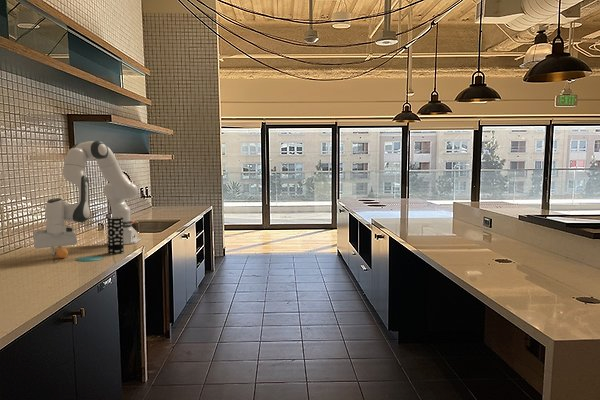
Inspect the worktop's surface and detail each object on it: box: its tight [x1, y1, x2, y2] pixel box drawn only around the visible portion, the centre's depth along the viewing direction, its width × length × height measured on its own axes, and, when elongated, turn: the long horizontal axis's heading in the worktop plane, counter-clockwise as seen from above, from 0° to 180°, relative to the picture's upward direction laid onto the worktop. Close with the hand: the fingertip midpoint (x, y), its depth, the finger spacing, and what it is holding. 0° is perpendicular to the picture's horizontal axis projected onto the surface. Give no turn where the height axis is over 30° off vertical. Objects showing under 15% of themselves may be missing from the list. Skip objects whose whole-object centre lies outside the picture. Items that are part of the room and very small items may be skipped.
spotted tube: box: [106, 216, 125, 255], centre depth 252 cm, size 8×8×20 cm
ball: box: [55, 247, 69, 259], centre depth 236 cm, size 6×6×6 cm
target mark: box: [75, 255, 104, 263], centre depth 236 cm, size 13×13×1 cm
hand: (56, 254), depth 238 cm, fingers closed
